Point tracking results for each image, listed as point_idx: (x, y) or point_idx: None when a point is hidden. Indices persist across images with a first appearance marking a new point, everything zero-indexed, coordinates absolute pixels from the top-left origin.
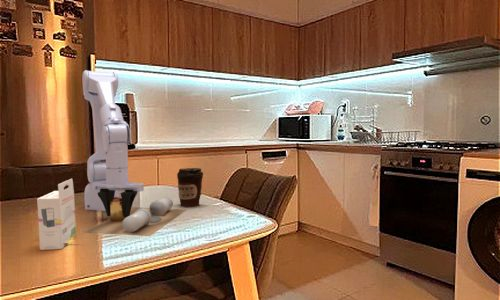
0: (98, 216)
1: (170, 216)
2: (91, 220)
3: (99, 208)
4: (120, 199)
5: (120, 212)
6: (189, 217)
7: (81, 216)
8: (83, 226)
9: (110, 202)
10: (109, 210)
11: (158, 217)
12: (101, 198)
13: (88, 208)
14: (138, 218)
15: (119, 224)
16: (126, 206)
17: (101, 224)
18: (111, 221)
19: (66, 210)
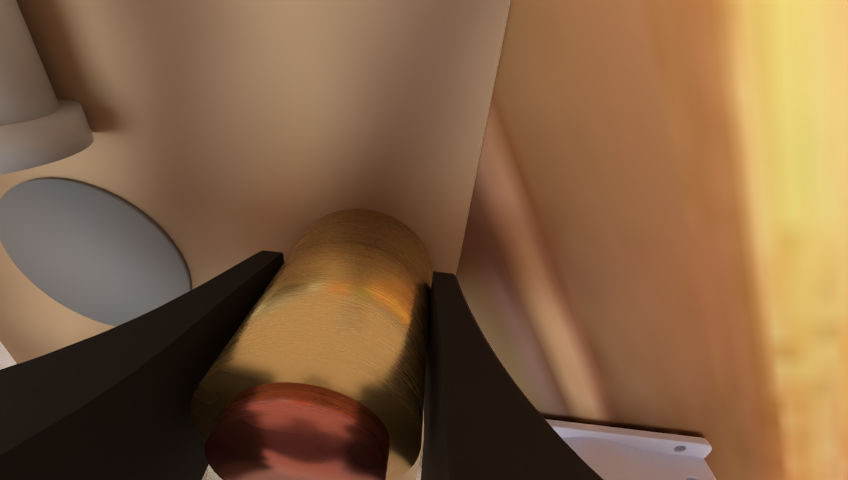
0: (585, 383)
1: (44, 339)
2: (612, 308)
3: (607, 461)
4: (219, 421)
5: (283, 267)
6: (6, 364)
7: (708, 383)
8: (642, 154)
9: (376, 367)
10: (431, 315)
11: (83, 309)
12: (537, 438)
13: (688, 470)
14: None
15: (263, 118)
16: (159, 308)
17: (447, 109)
18: (397, 214)
19: None
